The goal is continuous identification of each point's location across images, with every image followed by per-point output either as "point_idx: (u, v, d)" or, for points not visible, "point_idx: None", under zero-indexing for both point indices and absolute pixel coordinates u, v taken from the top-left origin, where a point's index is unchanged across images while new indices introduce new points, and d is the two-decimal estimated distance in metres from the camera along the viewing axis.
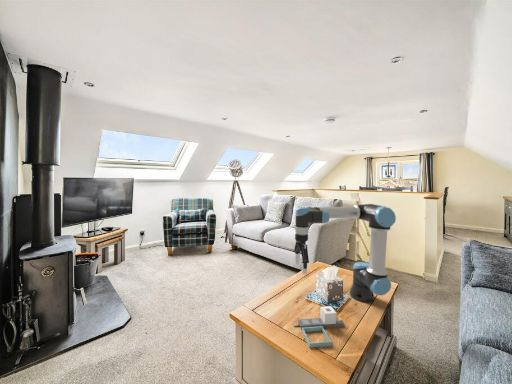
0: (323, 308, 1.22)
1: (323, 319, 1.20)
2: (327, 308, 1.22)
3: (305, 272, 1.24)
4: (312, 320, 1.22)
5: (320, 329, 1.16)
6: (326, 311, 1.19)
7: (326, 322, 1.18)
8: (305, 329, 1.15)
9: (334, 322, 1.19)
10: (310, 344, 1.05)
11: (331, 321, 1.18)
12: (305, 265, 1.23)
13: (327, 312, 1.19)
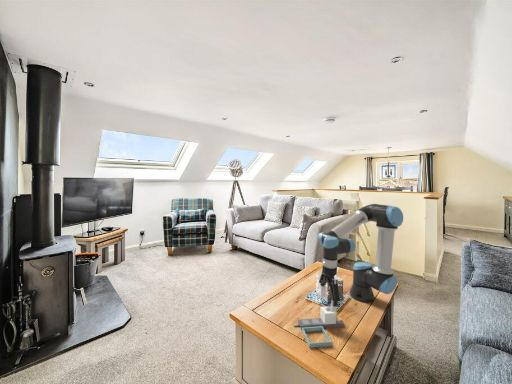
0: (323, 308, 1.22)
1: (323, 319, 1.20)
2: (327, 308, 1.22)
3: (335, 310, 1.13)
4: (312, 320, 1.22)
5: (320, 329, 1.16)
6: (326, 311, 1.19)
7: (326, 322, 1.18)
8: (305, 329, 1.15)
9: (334, 322, 1.19)
10: (310, 344, 1.05)
11: (331, 321, 1.18)
12: (335, 303, 1.12)
13: (327, 312, 1.19)
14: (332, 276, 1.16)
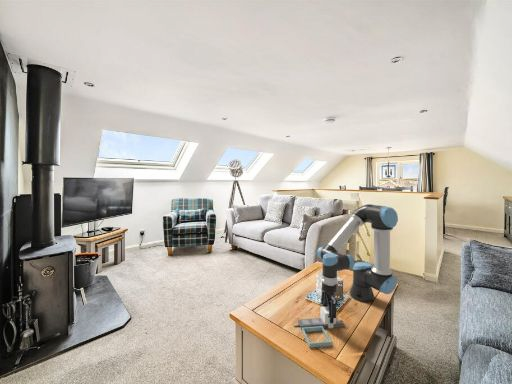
0: (323, 308, 1.22)
1: (323, 319, 1.20)
2: (327, 308, 1.22)
3: (331, 326, 1.18)
4: (312, 320, 1.22)
5: (320, 329, 1.16)
6: (326, 311, 1.19)
7: (326, 322, 1.18)
8: (305, 329, 1.15)
9: (334, 322, 1.19)
10: (310, 344, 1.05)
11: None
12: (332, 320, 1.16)
13: (327, 312, 1.19)
14: (331, 293, 1.16)
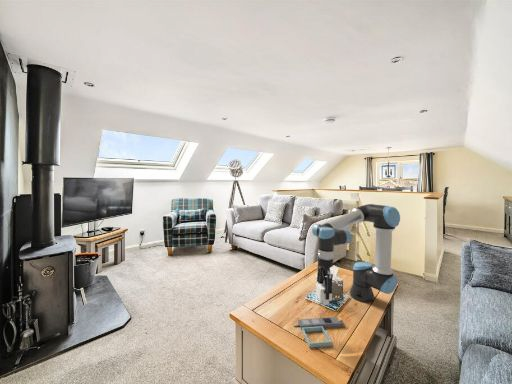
0: (319, 285, 1.17)
1: (318, 295, 1.14)
2: (323, 285, 1.17)
3: (327, 303, 1.12)
4: (312, 320, 1.22)
5: (320, 329, 1.16)
6: (322, 287, 1.14)
7: (321, 298, 1.13)
8: (305, 329, 1.15)
9: (330, 299, 1.13)
10: (310, 344, 1.05)
11: None
12: (327, 295, 1.11)
13: (322, 288, 1.13)
14: (328, 268, 1.11)
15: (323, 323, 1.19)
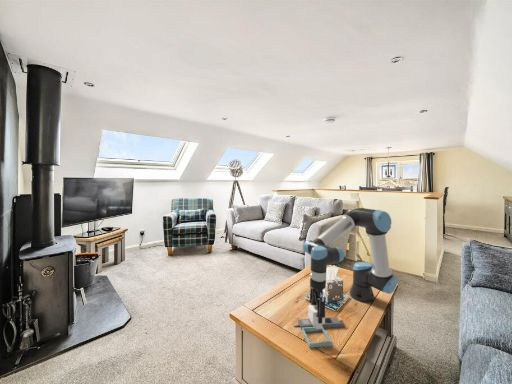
0: (311, 306, 1.11)
1: (311, 319, 1.08)
2: (316, 306, 1.11)
3: (320, 327, 1.06)
4: None
5: (320, 329, 1.16)
6: (314, 310, 1.08)
7: (314, 322, 1.07)
8: (305, 329, 1.15)
9: (323, 322, 1.07)
10: (310, 344, 1.05)
11: None
12: (320, 319, 1.05)
13: (315, 311, 1.07)
14: (320, 290, 1.05)
15: None
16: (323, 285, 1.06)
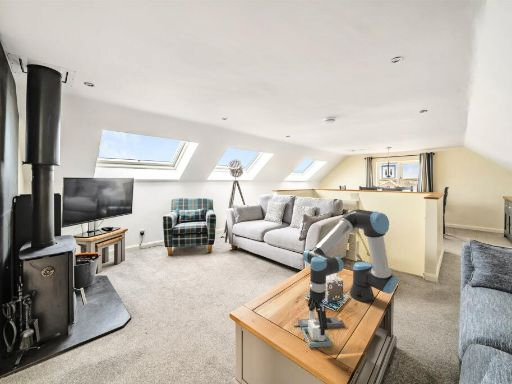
0: (311, 321, 1.12)
1: (311, 334, 1.09)
2: (315, 321, 1.12)
3: (322, 338, 1.04)
4: None
5: None
6: (314, 325, 1.09)
7: (314, 337, 1.07)
8: (305, 329, 1.15)
9: None
10: (310, 344, 1.05)
11: None
12: (323, 331, 1.02)
13: (315, 326, 1.08)
14: (320, 301, 1.06)
15: None
16: (323, 296, 1.06)
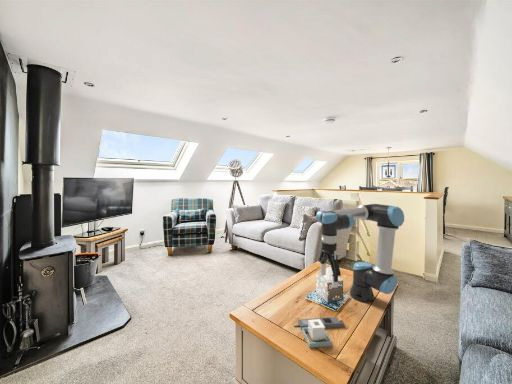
0: (311, 321, 1.12)
1: (311, 334, 1.09)
2: (315, 321, 1.12)
3: (336, 285, 1.12)
4: None
5: None
6: (314, 325, 1.09)
7: (314, 337, 1.07)
8: (305, 329, 1.15)
9: (323, 337, 1.08)
10: (310, 344, 1.05)
11: (320, 336, 1.08)
12: (336, 278, 1.10)
13: (315, 326, 1.08)
14: (332, 252, 1.14)
15: (323, 323, 1.19)
16: (334, 247, 1.14)
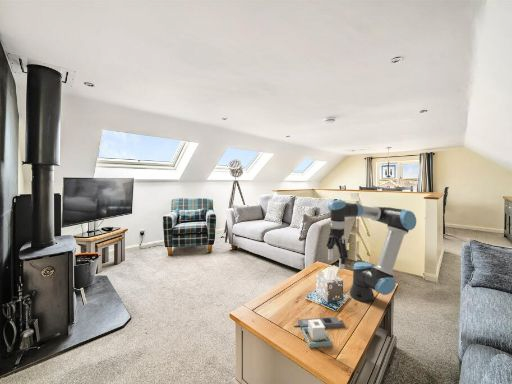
0: (311, 321, 1.12)
1: (311, 334, 1.09)
2: (315, 321, 1.12)
3: (342, 267, 1.20)
4: None
5: None
6: (314, 325, 1.09)
7: (314, 337, 1.07)
8: (305, 329, 1.15)
9: (323, 337, 1.08)
10: (310, 344, 1.05)
11: (320, 336, 1.08)
12: (343, 260, 1.18)
13: (315, 326, 1.08)
14: (340, 236, 1.22)
15: (323, 323, 1.19)
16: (342, 232, 1.22)
